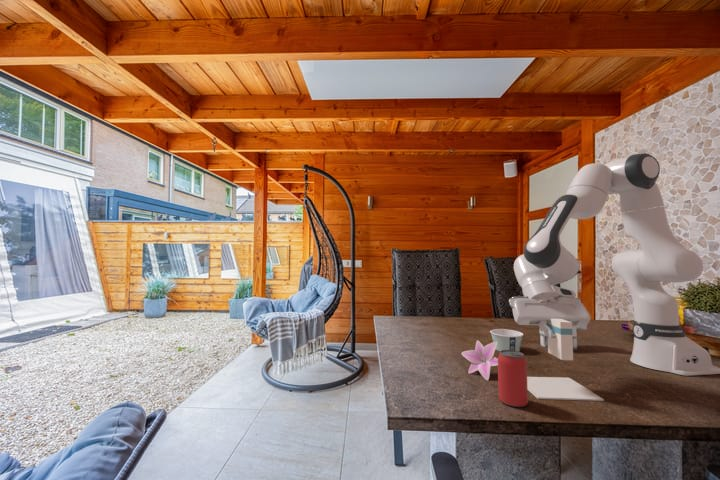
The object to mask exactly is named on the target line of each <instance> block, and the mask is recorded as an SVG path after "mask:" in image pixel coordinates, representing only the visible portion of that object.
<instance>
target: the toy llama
mask: <svg viewBox="0 0 720 480" xmlns="http://www.w3.org/2000/svg"><path fill="white" fill-rule="evenodd" d="M575 298H576V299H578V300H579V301H581V297H577V296H575ZM581 302H582V301H581ZM538 329H539V331H538V333H539V336H540V338H539V339H540V340H539V341H540V346H541V347H544V348H548V336H547V334H546V333H545V332H544V331H543V330H542V329H540V328H538ZM583 330H586V331H587V330H588V324H587V325H586V326H572V333H573V351H574V350H578V336H577V335H578V334H577V331H583Z"/></svg>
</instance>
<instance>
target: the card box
mask: <svg viewBox="0 0 720 480" xmlns="http://www.w3.org/2000/svg"><path fill="white" fill-rule="evenodd" d="M547 326H548V327H549V328H550V329H551V330H554V331H555V333H556V337H555V338H548V347H547V353H548V354H550V355H552V356H553V357H556V358H557V359H559V360H561V361H574V350H573V337H572V335H573V333H572V322H569V321H566V320H563V319H550V320H548V321H547Z"/></svg>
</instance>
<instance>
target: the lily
mask: <svg viewBox="0 0 720 480" xmlns="http://www.w3.org/2000/svg"><path fill="white" fill-rule="evenodd" d="M496 346H497V342H493V341H492V342H490V343H488V344H486V345H483V344H482V343H481V342H480V341H479V340H476V342H475V348H474V349H467V350H464V351H462V352H461V356H463V358H465V359H466V360H467V361H469V362H470V363H471V364H470V365H469V368H468V370H467V372H468V374H473V373H475V372H476V371H478V372H479V373H480V375H481V376H482V378H483V379H484V380H486V381H489V379H490V374H491V373H490V372H491V367H495V366H497V367H498V357H495V356H494V355H495V351H496Z"/></svg>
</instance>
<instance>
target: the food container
mask: <svg viewBox="0 0 720 480" xmlns="http://www.w3.org/2000/svg"><path fill="white" fill-rule="evenodd" d="M489 333H490V334H491V340H492V342H497V346H496V349H495V351H496V350H497V351H498V352H500V351H501V350H514V351H518V352H520V351H521V346H522V339H523V336H524V333H523V332H521V331H518V330H513V329H508V328H507V329H505V328H495V329H491V330H490V331H489Z"/></svg>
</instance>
